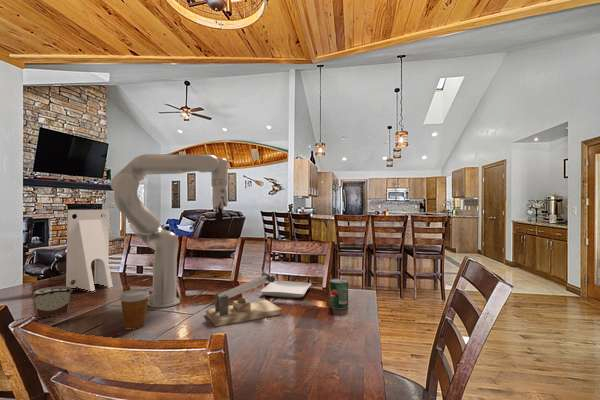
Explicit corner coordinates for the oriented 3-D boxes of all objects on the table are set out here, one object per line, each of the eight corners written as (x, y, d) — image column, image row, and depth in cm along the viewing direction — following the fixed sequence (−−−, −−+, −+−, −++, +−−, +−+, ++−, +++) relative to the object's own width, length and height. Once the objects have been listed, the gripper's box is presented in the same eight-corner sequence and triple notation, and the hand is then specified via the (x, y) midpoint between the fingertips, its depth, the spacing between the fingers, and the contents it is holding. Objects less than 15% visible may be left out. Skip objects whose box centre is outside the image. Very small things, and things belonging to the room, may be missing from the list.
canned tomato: (325, 306, 138) (326, 280, 139) (336, 302, 144) (337, 277, 144) (341, 310, 133) (341, 283, 133) (351, 306, 139) (352, 280, 139)
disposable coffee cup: (128, 321, 119) (129, 288, 119) (154, 321, 119) (154, 288, 119) (113, 331, 110) (113, 295, 110) (140, 332, 109) (141, 296, 109)
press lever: (223, 303, 119) (221, 297, 119) (217, 298, 126) (215, 292, 126) (277, 280, 131) (276, 274, 130) (268, 276, 137) (267, 271, 137)
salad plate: (304, 300, 147) (304, 293, 147) (259, 297, 152) (259, 290, 152) (312, 289, 168) (312, 282, 168) (272, 286, 172) (272, 280, 172)
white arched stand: (80, 294, 154) (81, 210, 155) (65, 290, 162) (67, 209, 162) (121, 285, 171) (123, 209, 172) (107, 282, 179) (108, 209, 179)
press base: (216, 326, 115) (216, 300, 115) (206, 314, 127) (206, 291, 127) (281, 314, 128) (281, 291, 128) (266, 304, 140) (266, 283, 140)
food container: (69, 308, 133) (69, 284, 133) (72, 312, 128) (72, 287, 129) (30, 315, 124) (30, 289, 124) (32, 320, 120) (32, 292, 120)
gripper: (231, 183, 154) (231, 221, 154) (222, 184, 167) (221, 220, 166) (216, 182, 150) (215, 222, 150) (207, 184, 163) (207, 220, 163)
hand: (218, 221), depth 158 cm, fingers closed
